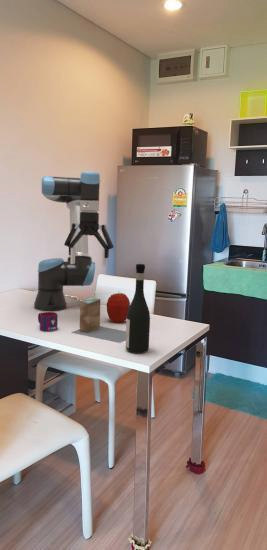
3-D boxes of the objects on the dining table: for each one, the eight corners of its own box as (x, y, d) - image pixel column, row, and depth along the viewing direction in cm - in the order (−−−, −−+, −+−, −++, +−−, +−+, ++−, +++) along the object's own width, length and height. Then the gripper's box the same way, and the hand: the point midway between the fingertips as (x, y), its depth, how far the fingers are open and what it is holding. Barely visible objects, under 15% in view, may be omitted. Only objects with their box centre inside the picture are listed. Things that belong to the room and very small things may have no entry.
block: (79, 331, 166) (80, 301, 164) (91, 326, 173) (92, 297, 171) (88, 333, 164) (88, 302, 162) (99, 328, 171) (100, 299, 169)
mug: (45, 334, 163) (45, 316, 162) (32, 328, 170) (32, 311, 169) (60, 331, 167) (60, 314, 166) (47, 325, 175) (48, 309, 173)
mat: (70, 333, 164) (70, 332, 164) (91, 325, 176) (91, 324, 176) (120, 344, 154) (120, 342, 154) (138, 335, 166) (138, 333, 166)
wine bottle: (121, 351, 146) (125, 264, 141) (130, 345, 153) (133, 262, 149) (144, 355, 143) (148, 266, 139) (151, 348, 151) (155, 263, 146)
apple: (119, 318, 190) (120, 287, 188) (134, 323, 183) (135, 291, 181) (100, 321, 183) (101, 289, 181) (116, 327, 176) (117, 293, 174)
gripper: (56, 210, 170) (55, 263, 173) (116, 213, 163) (114, 268, 166) (64, 210, 177) (64, 261, 180) (122, 213, 170) (120, 266, 173)
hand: (88, 265), depth 173 cm, fingers open, 13 cm apart
